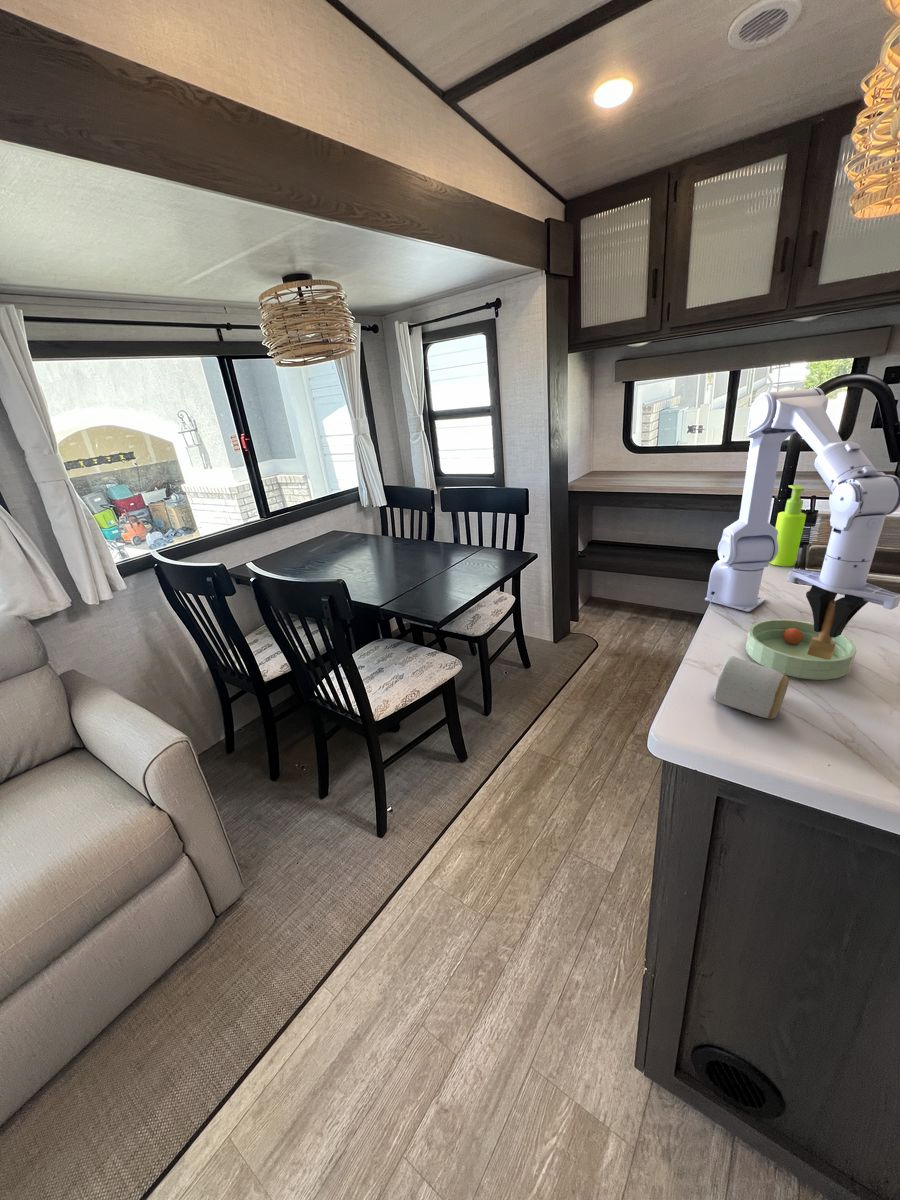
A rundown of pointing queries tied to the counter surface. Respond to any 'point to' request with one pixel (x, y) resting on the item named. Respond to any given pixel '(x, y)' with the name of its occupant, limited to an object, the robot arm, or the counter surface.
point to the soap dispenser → (790, 529)
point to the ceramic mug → (751, 687)
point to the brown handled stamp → (824, 636)
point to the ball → (793, 636)
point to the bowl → (797, 651)
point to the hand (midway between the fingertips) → (827, 632)
